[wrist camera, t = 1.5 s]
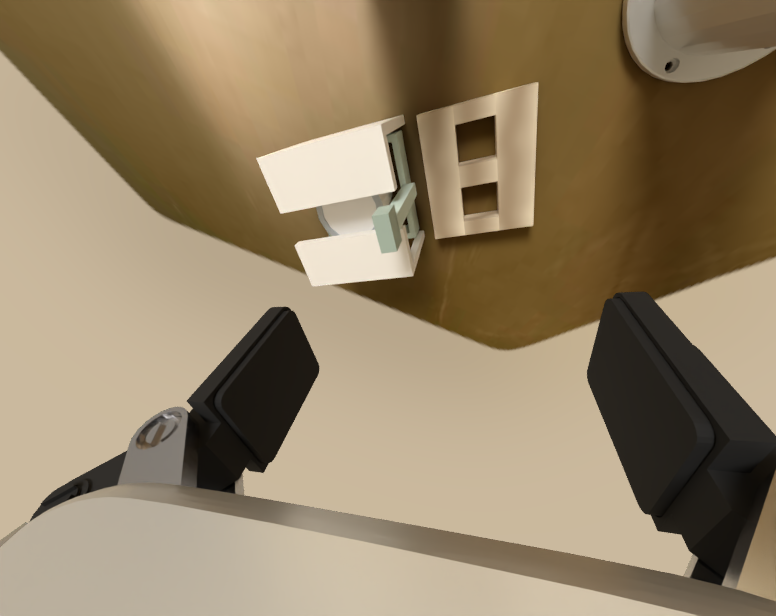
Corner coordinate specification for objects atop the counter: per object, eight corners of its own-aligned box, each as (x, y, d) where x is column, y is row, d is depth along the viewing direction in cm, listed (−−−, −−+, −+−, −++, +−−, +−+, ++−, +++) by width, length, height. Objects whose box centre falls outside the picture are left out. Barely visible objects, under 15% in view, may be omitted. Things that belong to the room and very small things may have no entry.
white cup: (381, 231, 36) (366, 256, 31) (331, 202, 35) (306, 223, 30) (408, 179, 32) (396, 198, 27) (352, 145, 31) (328, 157, 26)
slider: (410, 127, 29) (374, 153, 18) (427, 227, 34) (407, 294, 23) (311, 153, 32) (229, 188, 21) (341, 240, 38) (288, 304, 27)
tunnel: (403, 114, 29) (380, 124, 21) (424, 236, 35) (413, 276, 28) (305, 141, 32) (256, 158, 25) (342, 248, 39) (312, 286, 31)
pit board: (534, 82, 25) (538, 82, 24) (530, 218, 32) (533, 225, 30) (419, 113, 28) (416, 115, 27) (436, 232, 35) (435, 239, 33)
